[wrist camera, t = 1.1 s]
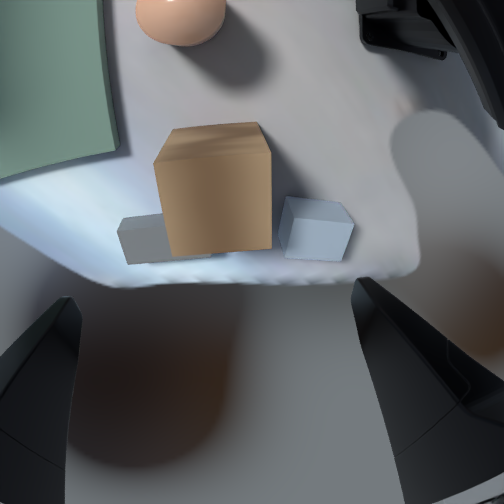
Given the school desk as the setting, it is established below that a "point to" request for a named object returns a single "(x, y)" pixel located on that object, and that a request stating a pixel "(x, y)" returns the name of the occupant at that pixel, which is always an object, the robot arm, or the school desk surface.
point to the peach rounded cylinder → (180, 20)
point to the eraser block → (314, 229)
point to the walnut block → (216, 189)
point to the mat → (53, 84)
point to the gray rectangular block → (147, 240)
